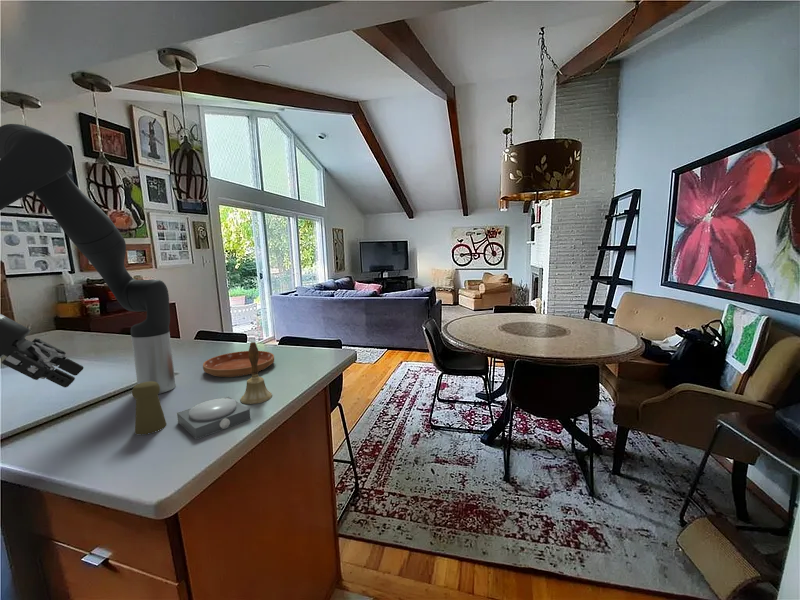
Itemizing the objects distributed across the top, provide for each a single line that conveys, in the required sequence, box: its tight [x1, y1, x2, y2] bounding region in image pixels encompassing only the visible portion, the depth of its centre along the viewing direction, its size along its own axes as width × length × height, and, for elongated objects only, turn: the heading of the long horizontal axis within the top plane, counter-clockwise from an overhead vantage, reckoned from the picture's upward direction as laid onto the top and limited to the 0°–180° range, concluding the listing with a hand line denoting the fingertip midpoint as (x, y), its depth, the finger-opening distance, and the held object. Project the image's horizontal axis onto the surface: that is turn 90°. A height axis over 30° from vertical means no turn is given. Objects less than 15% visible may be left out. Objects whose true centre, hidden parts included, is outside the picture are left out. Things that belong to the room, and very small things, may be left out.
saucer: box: [202, 350, 275, 378], centre depth 123 cm, size 23×23×4 cm
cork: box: [131, 381, 167, 436], centre depth 80 cm, size 6×6×11 cm
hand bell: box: [239, 341, 273, 405], centre depth 96 cm, size 8×8×16 cm
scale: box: [176, 396, 251, 440], centre depth 84 cm, size 12×12×4 cm
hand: (76, 377), depth 73 cm, fingers open, 8 cm apart
